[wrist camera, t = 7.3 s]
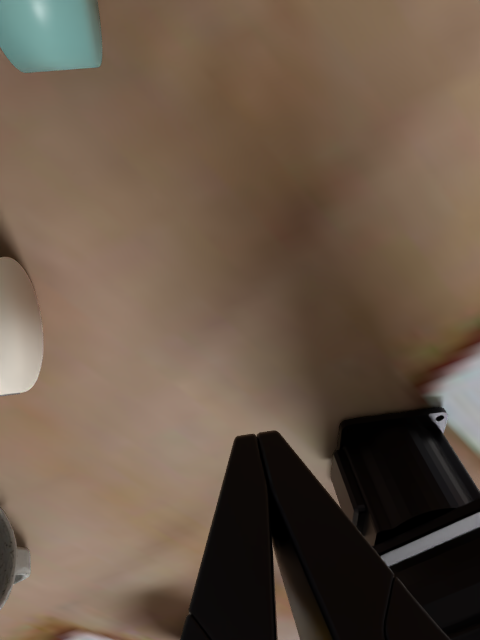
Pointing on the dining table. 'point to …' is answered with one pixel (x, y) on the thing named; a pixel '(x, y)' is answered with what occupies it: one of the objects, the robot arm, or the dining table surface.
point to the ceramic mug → (11, 559)
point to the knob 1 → (18, 329)
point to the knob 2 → (51, 34)
